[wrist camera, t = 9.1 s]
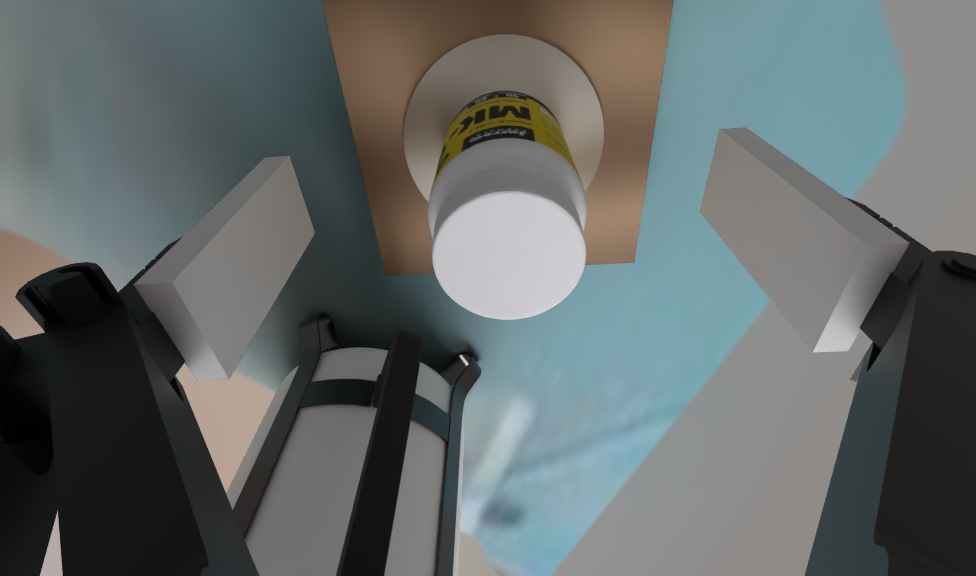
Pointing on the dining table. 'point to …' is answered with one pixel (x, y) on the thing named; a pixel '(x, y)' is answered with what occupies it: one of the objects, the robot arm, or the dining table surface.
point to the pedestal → (491, 66)
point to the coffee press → (357, 462)
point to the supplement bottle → (507, 208)
